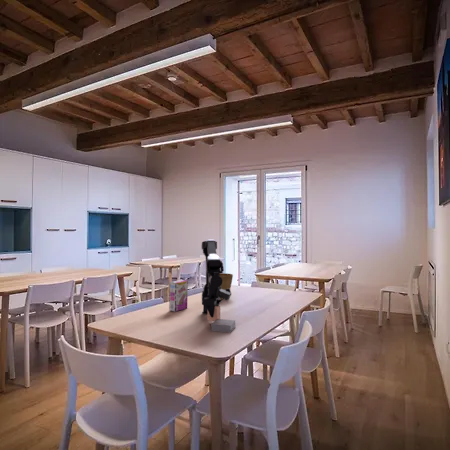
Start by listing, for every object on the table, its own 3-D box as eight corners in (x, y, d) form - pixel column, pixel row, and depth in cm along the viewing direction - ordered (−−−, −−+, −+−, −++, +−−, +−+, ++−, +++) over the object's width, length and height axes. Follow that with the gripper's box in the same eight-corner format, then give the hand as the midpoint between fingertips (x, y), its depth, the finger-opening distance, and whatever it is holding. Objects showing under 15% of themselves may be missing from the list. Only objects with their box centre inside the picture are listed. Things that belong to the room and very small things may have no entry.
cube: (207, 320, 161) (207, 308, 161) (210, 317, 166) (210, 305, 166) (217, 321, 160) (217, 308, 159) (220, 318, 164) (220, 306, 164)
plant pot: (232, 300, 214) (232, 275, 215) (210, 300, 215) (210, 275, 215) (232, 296, 229) (232, 272, 229) (211, 296, 230) (211, 272, 230)
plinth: (211, 330, 151) (211, 324, 151) (217, 325, 159) (217, 318, 160) (230, 332, 148) (230, 325, 148) (235, 326, 157) (235, 320, 157)
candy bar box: (175, 312, 184) (175, 282, 185) (168, 311, 187) (168, 282, 187) (188, 308, 194) (188, 280, 194) (181, 307, 196) (181, 279, 197)
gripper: (224, 288, 152) (224, 322, 151) (234, 281, 169) (234, 312, 169) (201, 287, 155) (201, 320, 154) (213, 280, 173) (213, 310, 172)
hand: (213, 315), depth 163 cm, fingers closed on cube, 5 cm apart
